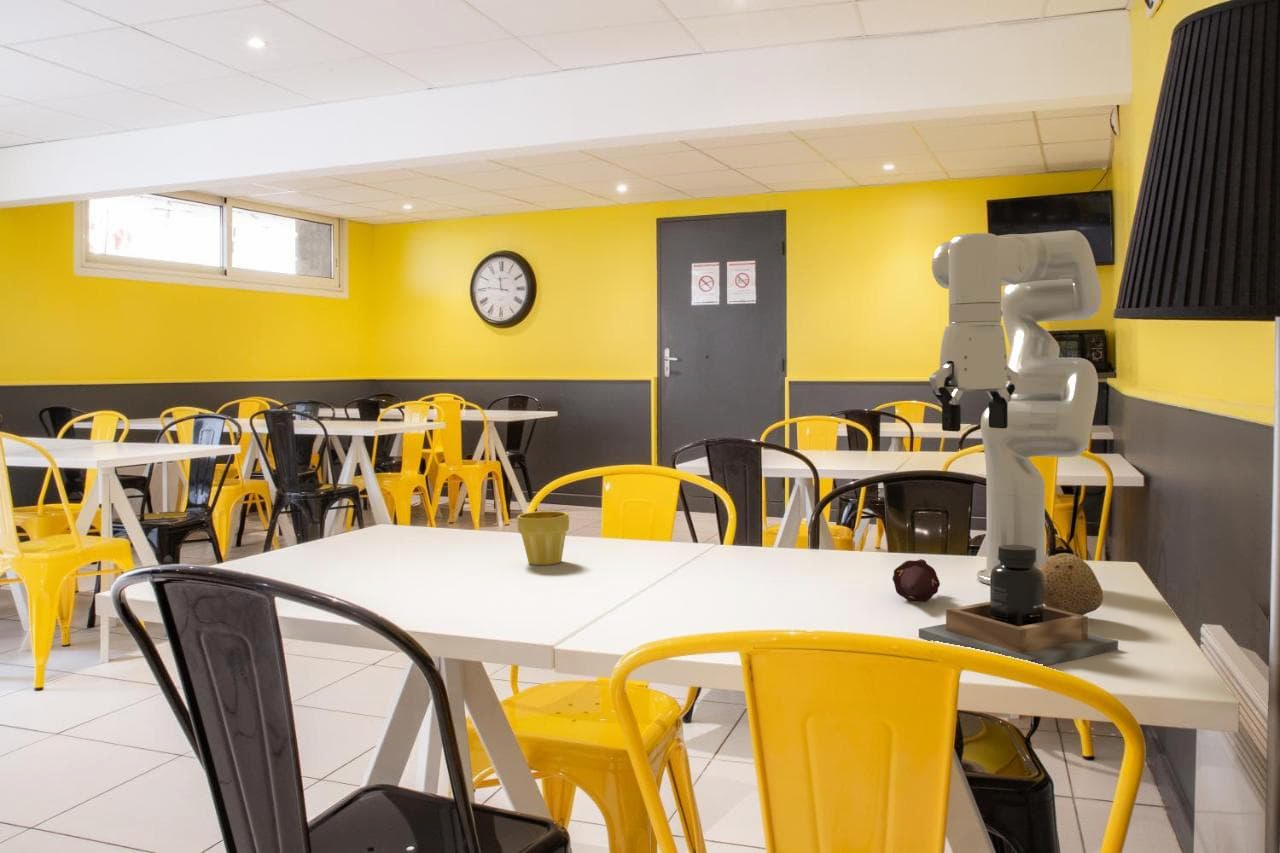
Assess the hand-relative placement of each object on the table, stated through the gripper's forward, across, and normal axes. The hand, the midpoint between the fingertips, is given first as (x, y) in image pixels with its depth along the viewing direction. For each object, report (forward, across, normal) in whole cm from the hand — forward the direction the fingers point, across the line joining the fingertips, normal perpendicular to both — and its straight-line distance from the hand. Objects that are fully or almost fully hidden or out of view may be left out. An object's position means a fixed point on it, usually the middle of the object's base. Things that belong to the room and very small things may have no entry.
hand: (974, 429), depth 149 cm
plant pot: (+28, +42, -74) cm, 90 cm away
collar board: (+28, +8, +15) cm, 33 cm away
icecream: (+28, +2, -10) cm, 30 cm away
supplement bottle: (+27, +8, +15) cm, 32 cm away
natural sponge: (+28, -8, +10) cm, 31 cm away
